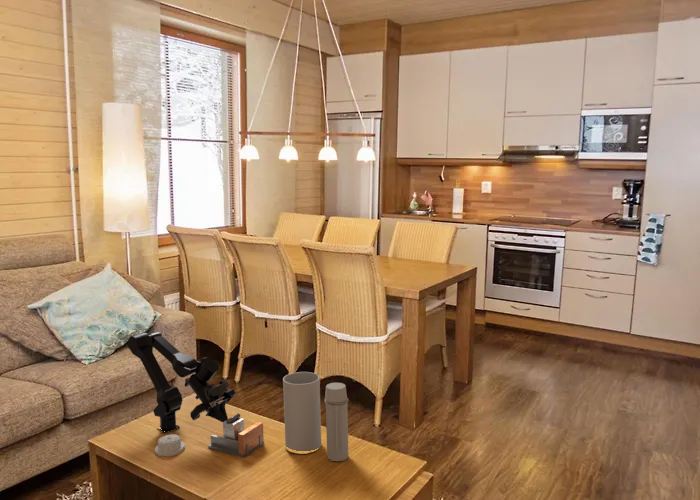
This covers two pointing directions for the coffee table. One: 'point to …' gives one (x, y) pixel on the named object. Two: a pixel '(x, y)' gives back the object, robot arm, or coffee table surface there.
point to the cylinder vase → (302, 411)
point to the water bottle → (336, 421)
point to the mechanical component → (169, 445)
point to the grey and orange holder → (240, 441)
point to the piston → (233, 427)
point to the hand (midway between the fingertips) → (227, 423)
